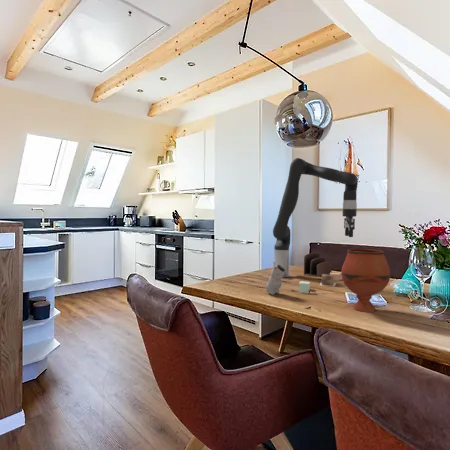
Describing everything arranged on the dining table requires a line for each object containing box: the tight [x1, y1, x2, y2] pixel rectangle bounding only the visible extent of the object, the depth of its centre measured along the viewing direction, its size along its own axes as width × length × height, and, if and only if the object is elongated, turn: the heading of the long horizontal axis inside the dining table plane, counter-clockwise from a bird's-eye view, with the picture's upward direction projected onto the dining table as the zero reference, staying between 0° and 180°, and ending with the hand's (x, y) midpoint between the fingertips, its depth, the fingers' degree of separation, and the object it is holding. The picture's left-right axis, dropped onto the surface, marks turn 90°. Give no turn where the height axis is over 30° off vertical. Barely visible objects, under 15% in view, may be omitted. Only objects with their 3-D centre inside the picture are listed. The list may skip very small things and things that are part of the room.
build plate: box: [319, 281, 337, 287], centre depth 184 cm, size 20×16×1 cm
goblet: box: [340, 247, 391, 313], centre depth 139 cm, size 19×19×25 cm
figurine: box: [265, 265, 285, 296], centre depth 166 cm, size 9×10×15 cm
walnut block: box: [321, 274, 335, 287], centre depth 183 cm, size 6×6×5 cm
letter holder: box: [303, 252, 333, 278], centre depth 221 cm, size 10×20×14 cm, turn 136°
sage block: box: [298, 280, 311, 294], centre depth 170 cm, size 5×5×5 cm
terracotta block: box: [330, 272, 342, 282], centre depth 196 cm, size 5×5×5 cm
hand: (348, 236), depth 192 cm, fingers open, 8 cm apart
